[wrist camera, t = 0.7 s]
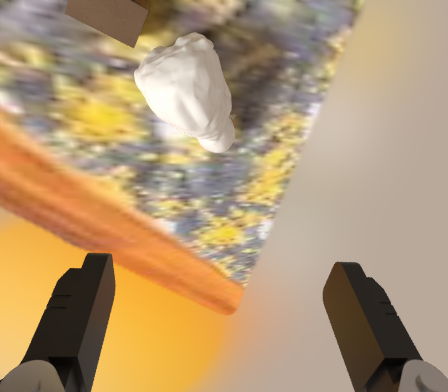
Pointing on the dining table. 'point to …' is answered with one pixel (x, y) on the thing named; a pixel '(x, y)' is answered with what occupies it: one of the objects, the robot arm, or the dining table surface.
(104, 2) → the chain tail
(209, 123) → the white lumpy piece
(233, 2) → the dining table surface
